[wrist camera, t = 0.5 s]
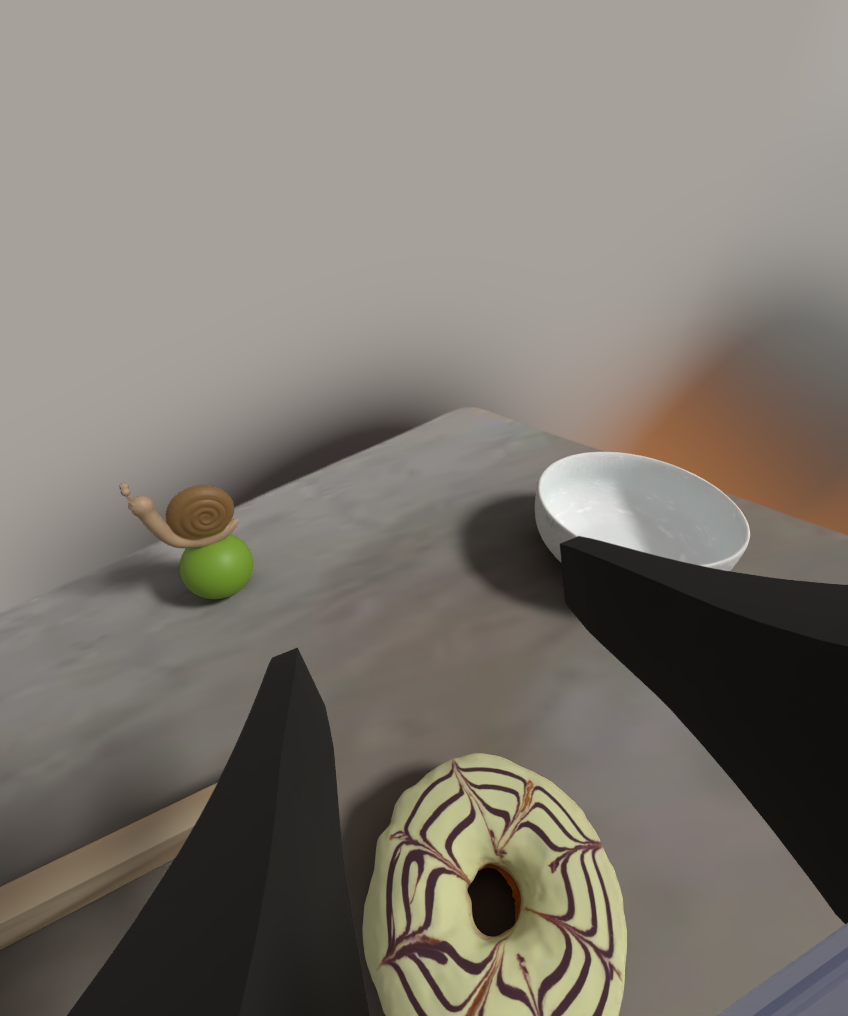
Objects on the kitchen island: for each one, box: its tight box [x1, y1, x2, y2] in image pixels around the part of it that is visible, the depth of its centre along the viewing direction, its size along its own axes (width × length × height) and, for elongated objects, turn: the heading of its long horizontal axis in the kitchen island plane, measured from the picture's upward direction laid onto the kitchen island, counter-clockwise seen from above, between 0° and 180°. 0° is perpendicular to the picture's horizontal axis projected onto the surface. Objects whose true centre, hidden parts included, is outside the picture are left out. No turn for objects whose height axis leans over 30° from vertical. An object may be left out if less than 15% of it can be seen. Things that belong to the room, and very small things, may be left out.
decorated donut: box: [362, 753, 627, 1016], centre depth 20 cm, size 11×12×4 cm
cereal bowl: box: [535, 452, 750, 571], centre depth 38 cm, size 17×17×7 cm
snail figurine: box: [120, 483, 253, 599], centre depth 32 cm, size 5×6×12 cm
